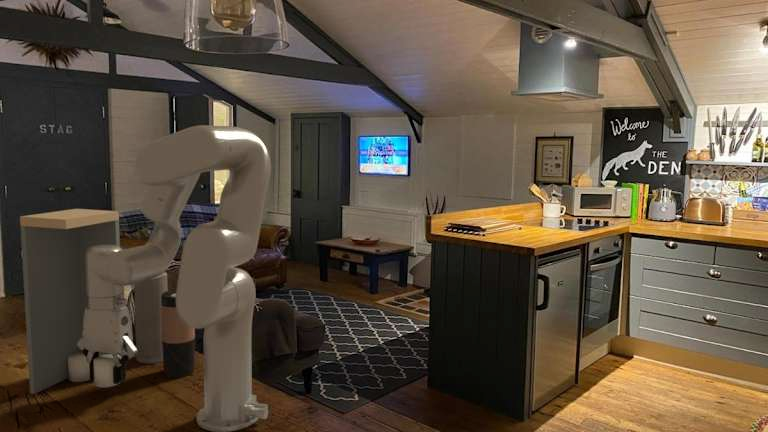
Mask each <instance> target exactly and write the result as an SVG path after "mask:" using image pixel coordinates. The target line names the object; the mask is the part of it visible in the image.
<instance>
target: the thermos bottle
mask: <svg viewBox="0 0 768 432" xmlns="http://www.w3.org/2000/svg"><path fill="white" fill-rule="evenodd" d="M133 285H134V286H133V289H134V290H133V291H134V315H135V319H134V320H135V344H136V345H135V347H136V349H137V350H138V352H137V353H136V361H137V362H138V363H141V364H156V363H163V348H162V307H161V295H162V293H164V292H166V291H168V290H169V289H168V273H167V272H166V271H165V272H164V273H163V274H161V275H159V276H157V277H154V278H151V279H147V280H144V281H141V282H138V283H135V284H133Z"/></svg>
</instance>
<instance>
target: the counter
mask: <svg viewBox="0 0 768 432" xmlns="http://www.w3.org/2000/svg"><path fill="white" fill-rule="evenodd" d="M119 213H120V212H119V211H117V210H102V209H90V208H89V209H87V208H71V209H65V210H58V211H51V212H43V213H37V214H36V213H35V214H29V215H21V216H19V222H20V238H21V239H20V242H21V254H22V255H21V257H22V259H21V260H22V273H23V275H22V276H23V291H24V292H23V293H24V295H23V296H24V311H25V329H26V344H27V345H26V346H27V360H28V361H27V362H28V363H27V366H28V377H29V378H28V379H29V381H28V382H29V394H30V395H31V394H32V395H36V394H37V393H40V392H42V391H44V390H45V389H47V388H49V387H52V386H54V385H56V384H58V383H60V382H62V381H64V380H66V379H69V374H68V356H69V355H70V354H73V353H76V352H81V351H82V350H81V349H80V348H79V347H78V346H77V343H78V342H79V340H80V339H81V338H82V330H83V318H84V312H85V308H86V307H87V294H86V262H85V254H86V251H87V249H88V248H90V247H93V246H97V245H116V246H119V247H120V246H121V242H120V240H121V238H120V235H121V234H120V215H119ZM120 248H121V247H120ZM106 354H108V353H101V354H100V356H101V355H106ZM119 355H120V354H119Z"/></svg>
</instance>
